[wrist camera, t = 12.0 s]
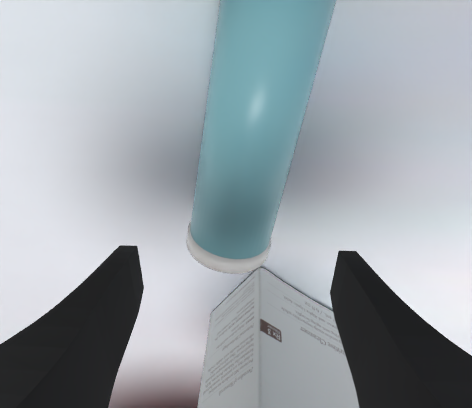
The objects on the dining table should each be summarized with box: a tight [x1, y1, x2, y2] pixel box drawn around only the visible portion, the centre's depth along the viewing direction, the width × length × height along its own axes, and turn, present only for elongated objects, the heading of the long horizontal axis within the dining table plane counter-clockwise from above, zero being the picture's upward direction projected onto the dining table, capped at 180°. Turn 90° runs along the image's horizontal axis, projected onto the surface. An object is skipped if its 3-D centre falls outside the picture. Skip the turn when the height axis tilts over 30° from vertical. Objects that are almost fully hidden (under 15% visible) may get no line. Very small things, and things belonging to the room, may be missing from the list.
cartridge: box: [186, 0, 336, 274], centre depth 16 cm, size 13×4×4 cm, turn 170°
